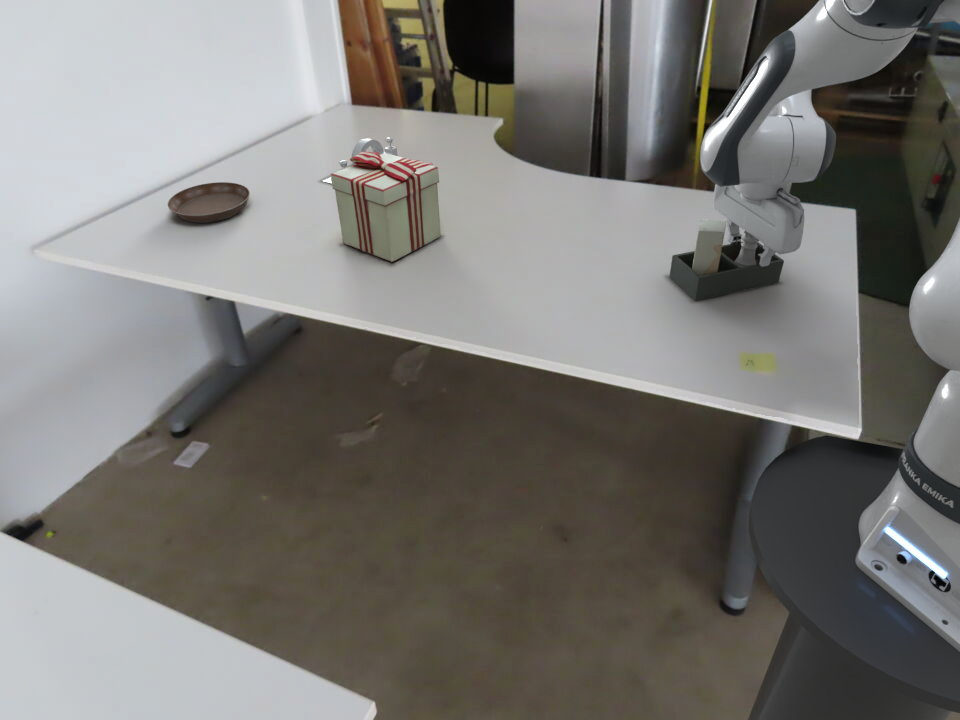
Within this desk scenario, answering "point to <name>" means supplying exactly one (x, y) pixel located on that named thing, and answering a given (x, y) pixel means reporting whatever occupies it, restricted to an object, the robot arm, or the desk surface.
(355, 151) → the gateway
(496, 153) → the desk surface
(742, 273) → the divided tray
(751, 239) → the rook chess piece
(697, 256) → the box
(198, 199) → the plant saucer
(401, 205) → the gift box
